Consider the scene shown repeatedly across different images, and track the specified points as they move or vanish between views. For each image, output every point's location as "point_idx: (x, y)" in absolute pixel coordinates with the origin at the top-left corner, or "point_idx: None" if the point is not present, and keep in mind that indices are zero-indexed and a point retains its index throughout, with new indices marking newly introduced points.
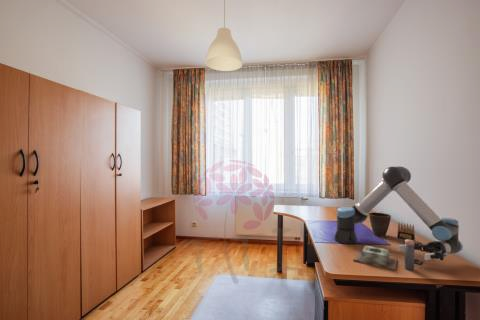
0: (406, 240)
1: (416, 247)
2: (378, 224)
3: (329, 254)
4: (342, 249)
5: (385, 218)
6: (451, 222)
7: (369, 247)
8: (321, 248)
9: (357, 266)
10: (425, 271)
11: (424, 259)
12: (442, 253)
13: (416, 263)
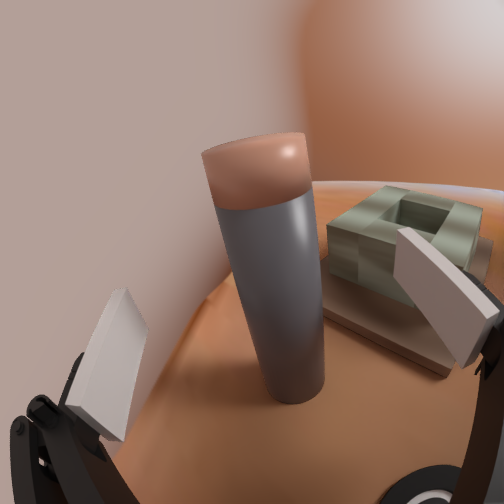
0: (262, 135)
1: (479, 461)
2: None
3: (426, 192)
4: (497, 220)
5: None
6: None
7: (456, 210)
8: (470, 190)
9: (336, 215)
10: (232, 458)
11: (146, 326)
12: (21, 500)
13: (390, 499)
